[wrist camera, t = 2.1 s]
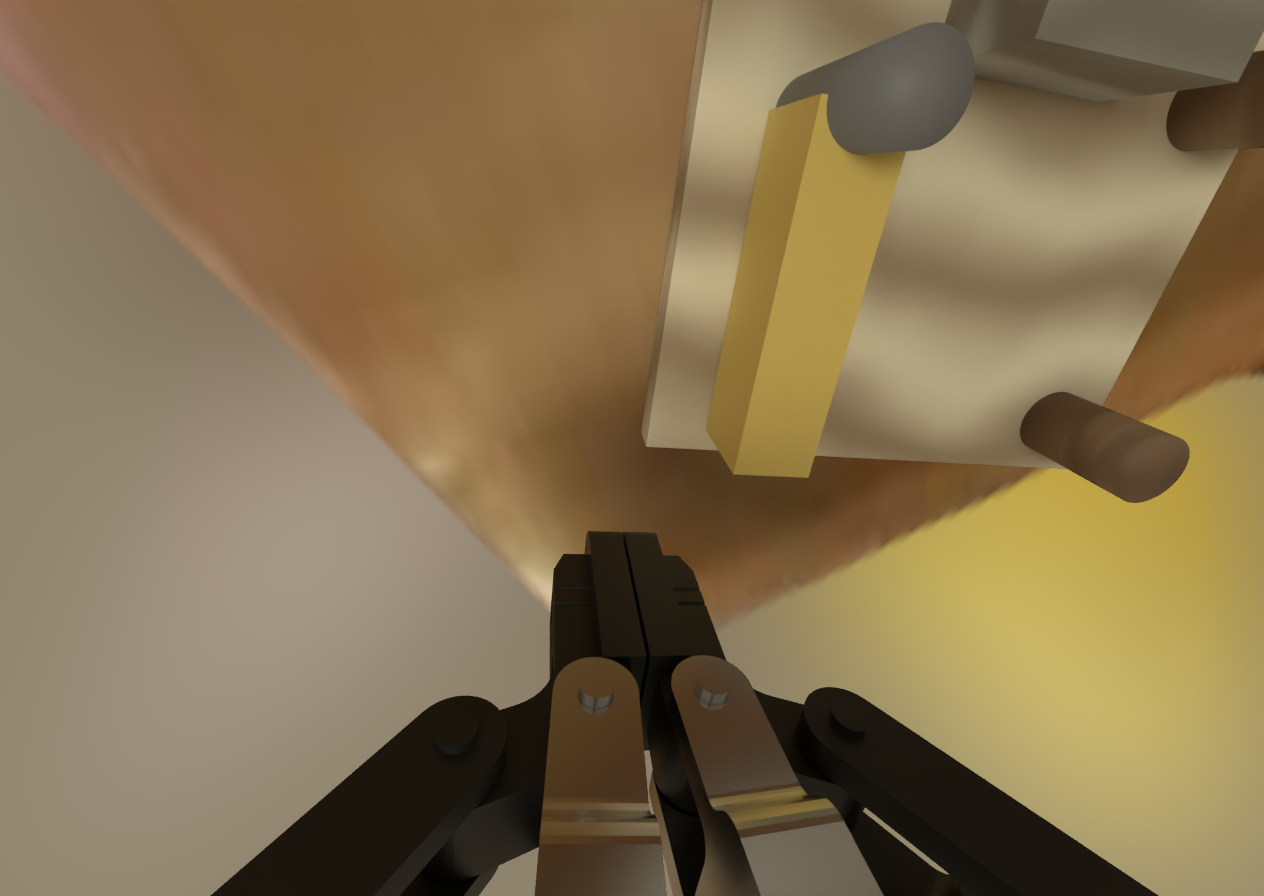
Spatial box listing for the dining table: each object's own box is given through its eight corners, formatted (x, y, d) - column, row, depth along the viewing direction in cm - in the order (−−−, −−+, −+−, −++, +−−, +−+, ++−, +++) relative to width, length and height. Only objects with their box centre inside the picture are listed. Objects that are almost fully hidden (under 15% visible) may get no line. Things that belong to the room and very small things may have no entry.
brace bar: (778, 64, 18) (884, 10, 12) (860, 80, 18) (999, 35, 13) (705, 430, 24) (755, 509, 18) (770, 433, 24) (838, 512, 18)
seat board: (714, -79, 17) (796, -208, 12) (1251, 46, 21) (1513, -3, 15) (641, 432, 25) (668, 507, 19) (1045, 455, 29) (1169, 524, 23)
